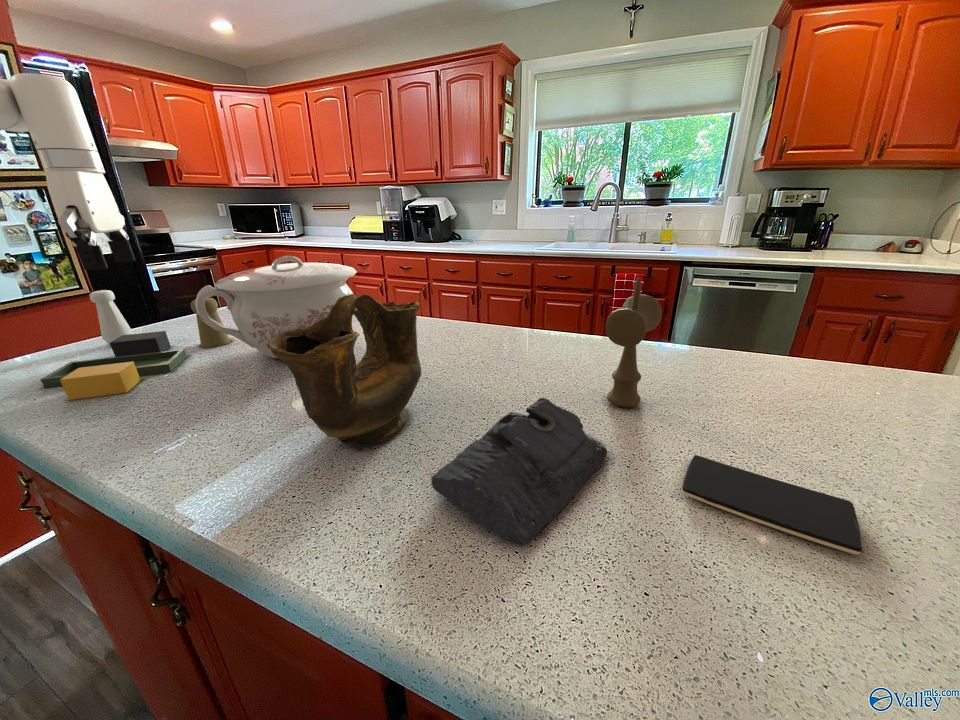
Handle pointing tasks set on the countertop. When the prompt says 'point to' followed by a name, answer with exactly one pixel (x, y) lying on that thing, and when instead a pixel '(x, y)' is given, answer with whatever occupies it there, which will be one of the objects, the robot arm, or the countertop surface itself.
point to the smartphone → (775, 503)
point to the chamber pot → (276, 299)
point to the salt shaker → (109, 316)
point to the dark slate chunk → (522, 471)
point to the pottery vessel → (355, 368)
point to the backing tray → (143, 362)
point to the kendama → (630, 343)
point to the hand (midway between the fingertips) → (112, 265)
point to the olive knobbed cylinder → (207, 333)
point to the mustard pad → (100, 380)
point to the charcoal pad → (140, 343)
